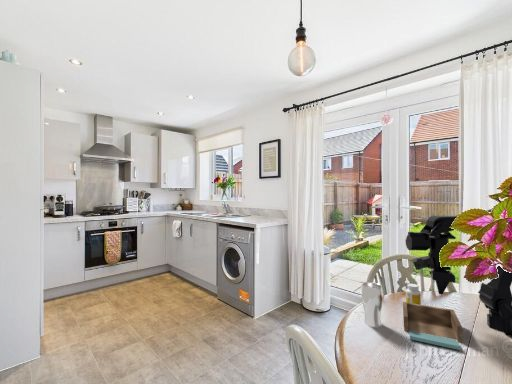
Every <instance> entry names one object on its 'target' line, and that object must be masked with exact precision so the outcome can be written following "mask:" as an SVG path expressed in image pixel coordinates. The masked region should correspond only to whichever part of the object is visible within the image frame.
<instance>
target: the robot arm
mask: <svg viewBox="0 0 512 384" xmlns="http://www.w3.org/2000/svg"><path fill="white" fill-rule="evenodd" d="M492 209H493V208H490V209H489V208H488V210H486V211H488V212H491V210H492ZM458 215H459V214H458ZM458 215H457V214H456V215H431V216H429V217H428V218H427V219H426V224H425V225H424V226H423V227H422V228H421V230H420V231H417V232H416V231H408V232H407V236H406V237H405V246H406V249H407V250H408V251H428V250H429V252H428V255H425V256H419V257H415V258H412V259H411V262H412V264H413V266H414V268H415V270H417V271H421V269H425V268H427V269H431V270H429V271H428V272H429V275H430V277H431V278H432V280H433V281H434V282H435V284H436V289H437V292H438V294H439V295H443V294H444V293H445V291H446V289H447V287H448V285H449V284H450V283H456V275H455V274H454V273H453V272H452V270H451V269H452V267H451V266H450V267H442V268H441V267H440V262H439V252H440V250H441V248H442V247H443V246H444V245H446V244H447V243H449V241H450V240H456V236H455V235H453V234H452V233H451V232H453V231H455V230H454V229H451V228H449V227H450V226H451V224H452V222H453V221H454V219H455V218H456V217H457V216H458ZM449 244H450V243H449ZM497 269H498V274H499V278H497V279H493V280H492V279H491V280H490V281H489V282H487V283H484V282H482V283H481V284H480V289H479V290H478V292H477V294H479V297H478V298H479V300H480V301H481V302H482V303H483V304H484V307H485V308H486V309H488V313H487V314H486V324H487V326H488V328H490V329H493V330H496V331H498V332H502V333H504V335H505V336H507V337H512V291H511V287H512V273H509V272H506V271H504V270H503V269H502V268H501V267H500V266H498V267H497Z"/></svg>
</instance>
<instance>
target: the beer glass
mask: <svg viewBox="0 0 512 384" xmlns="http://www.w3.org/2000/svg"><path fill="white" fill-rule="evenodd" d="M361 285H362V286H361V299H362V301H361V302H362V307H363V311H364V321H363V322H364V325H366V326H368V327H370V328H376V329H377V328H381V327H382V325H383V324H382V319H381V317H382V316H381V315H382V309H383V302H384V299H383V289H382V287H383V286H382V284H379V283H377V282H373V281H372V282H371V281H369V282H368V281H367V282H363V283H362V284H361Z"/></svg>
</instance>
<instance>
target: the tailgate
mask: <svg viewBox="0 0 512 384" xmlns="http://www.w3.org/2000/svg"><path fill="white" fill-rule="evenodd" d="M408 333H409V340H412V341H417V342H421V343H426V344H429V345H436V346H438V347H439V346H440V347H443V348H449V349H454V350H458V351H461V349H462V348H461V345H460V344H459V342H458V341H457V340H455V339H450V338H445V337H440V336H436V335H431V334H426V333H421V332H416V331H411V330H408Z"/></svg>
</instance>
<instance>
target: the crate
mask: <svg viewBox="0 0 512 384" xmlns="http://www.w3.org/2000/svg"><path fill="white" fill-rule="evenodd" d="M402 316H403V331H404V332H409V330H410V331H415V332H420V333H424V334H429V335H434V336H439V337H444V338H449V339H454V340H456V341H457V342H458V343H463V342H464V341H463V327H462V324H461V322H460V320H459V318H458V316H457V314H456V311H455V309H449V308H443V307H437V306H432V305H431V306H430V305H426V304H425V305H424V304H421V305H419V304H413V303H406V301H403V302H402Z"/></svg>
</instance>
